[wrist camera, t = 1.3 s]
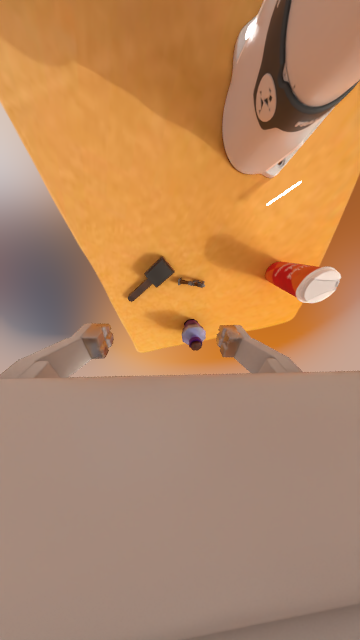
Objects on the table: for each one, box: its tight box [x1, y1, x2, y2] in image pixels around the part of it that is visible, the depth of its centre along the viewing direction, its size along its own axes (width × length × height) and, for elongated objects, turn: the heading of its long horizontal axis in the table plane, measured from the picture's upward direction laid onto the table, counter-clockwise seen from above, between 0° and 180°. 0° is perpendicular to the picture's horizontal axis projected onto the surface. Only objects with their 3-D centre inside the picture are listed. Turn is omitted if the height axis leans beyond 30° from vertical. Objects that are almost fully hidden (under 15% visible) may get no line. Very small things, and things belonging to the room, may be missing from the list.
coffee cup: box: [265, 262, 341, 303], centre depth 34 cm, size 8×8×15 cm
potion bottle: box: [182, 319, 205, 350], centre depth 45 cm, size 9×9×12 cm
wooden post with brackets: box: [178, 278, 205, 288], centre depth 39 cm, size 2×8×4 cm, turn 87°
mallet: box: [128, 256, 175, 302], centre depth 38 cm, size 17×5×3 cm, turn 129°
